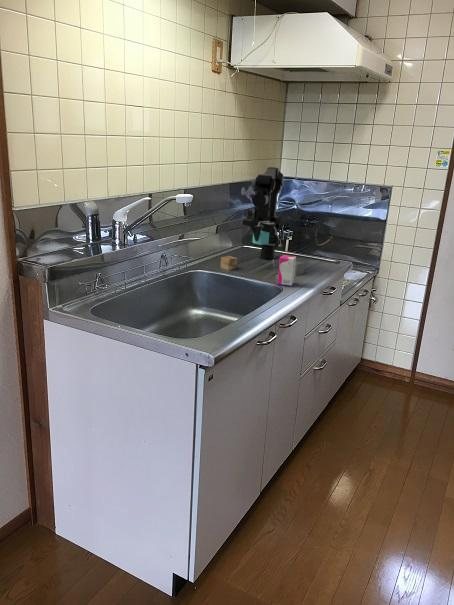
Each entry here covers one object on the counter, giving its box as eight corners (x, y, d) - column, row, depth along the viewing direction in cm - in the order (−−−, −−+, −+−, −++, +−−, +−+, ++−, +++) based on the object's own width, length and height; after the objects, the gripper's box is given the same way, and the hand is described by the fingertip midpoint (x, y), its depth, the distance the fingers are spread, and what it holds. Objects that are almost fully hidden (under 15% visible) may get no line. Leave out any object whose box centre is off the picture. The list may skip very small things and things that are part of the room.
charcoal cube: (294, 271, 222) (295, 260, 221) (303, 273, 219) (304, 262, 217) (287, 272, 219) (288, 261, 217) (296, 275, 216) (297, 264, 214)
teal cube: (260, 241, 222) (261, 230, 221) (268, 243, 219) (269, 232, 217) (252, 242, 219) (253, 231, 217) (260, 244, 215) (261, 233, 214)
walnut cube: (228, 266, 224) (229, 255, 223) (236, 269, 221) (237, 258, 219) (220, 268, 221) (221, 257, 219) (228, 270, 218) (228, 259, 216)
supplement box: (294, 283, 203) (296, 256, 200) (291, 287, 198) (293, 259, 194) (280, 281, 205) (282, 254, 202) (277, 285, 200) (279, 257, 196)
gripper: (264, 201, 225) (261, 235, 230) (234, 203, 213) (232, 239, 218) (282, 204, 217) (279, 239, 222) (253, 206, 205) (250, 244, 210)
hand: (260, 240), depth 218 cm, fingers closed on teal cube, 5 cm apart
